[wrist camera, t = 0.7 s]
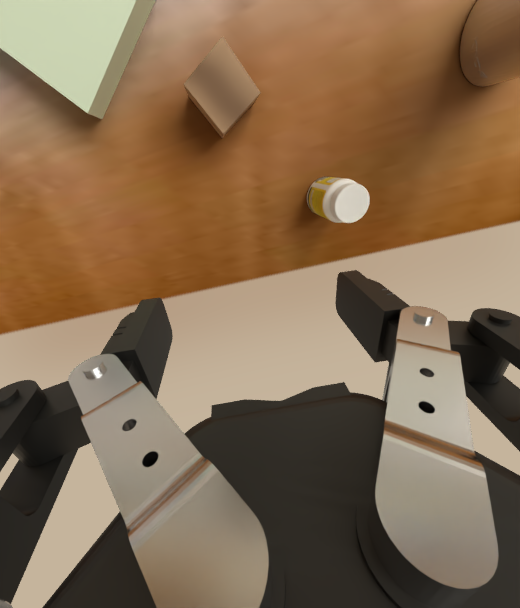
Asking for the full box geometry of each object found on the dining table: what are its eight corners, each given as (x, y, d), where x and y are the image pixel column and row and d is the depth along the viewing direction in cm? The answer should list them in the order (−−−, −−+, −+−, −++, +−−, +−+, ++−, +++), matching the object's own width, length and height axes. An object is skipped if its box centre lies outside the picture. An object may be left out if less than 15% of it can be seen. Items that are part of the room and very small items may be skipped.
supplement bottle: (321, 221, 36) (348, 236, 29) (298, 198, 34) (321, 207, 27) (346, 193, 35) (381, 201, 27) (324, 167, 33) (355, 168, 25)
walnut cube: (221, 57, 26) (222, 36, 22) (253, 103, 28) (260, 92, 24) (188, 96, 27) (183, 84, 23) (222, 138, 29) (223, 134, 25)
